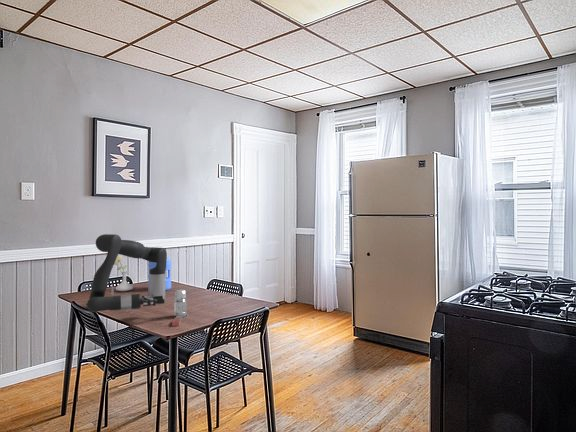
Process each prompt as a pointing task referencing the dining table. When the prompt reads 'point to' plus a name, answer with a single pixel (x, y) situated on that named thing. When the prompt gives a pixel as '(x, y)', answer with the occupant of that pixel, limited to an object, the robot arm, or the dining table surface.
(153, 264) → the water jug
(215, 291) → the dining table surface
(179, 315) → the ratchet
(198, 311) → the dining table surface
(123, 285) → the flower in vase
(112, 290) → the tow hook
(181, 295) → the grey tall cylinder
